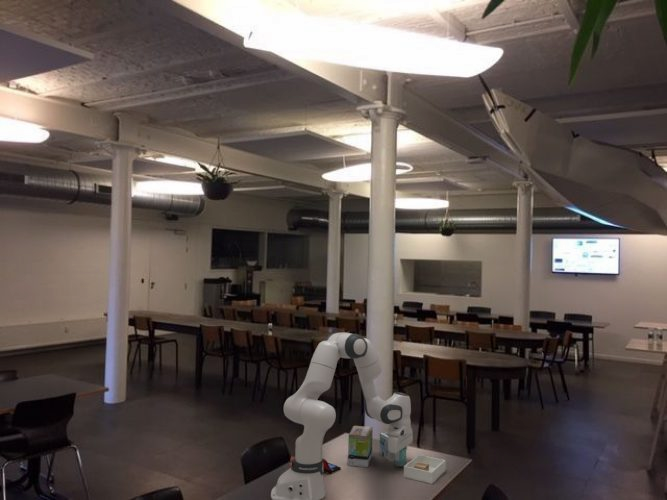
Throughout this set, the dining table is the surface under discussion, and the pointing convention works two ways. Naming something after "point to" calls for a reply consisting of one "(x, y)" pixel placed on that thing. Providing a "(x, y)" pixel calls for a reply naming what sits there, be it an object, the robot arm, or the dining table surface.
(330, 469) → the handheld game console
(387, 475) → the dining table surface
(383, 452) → the light bulb box
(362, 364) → the robot arm
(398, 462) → the teal cylinder
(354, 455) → the tea box
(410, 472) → the grey tote
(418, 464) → the oak cube
